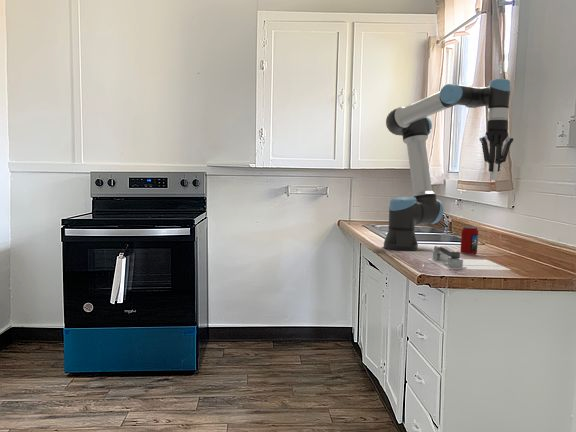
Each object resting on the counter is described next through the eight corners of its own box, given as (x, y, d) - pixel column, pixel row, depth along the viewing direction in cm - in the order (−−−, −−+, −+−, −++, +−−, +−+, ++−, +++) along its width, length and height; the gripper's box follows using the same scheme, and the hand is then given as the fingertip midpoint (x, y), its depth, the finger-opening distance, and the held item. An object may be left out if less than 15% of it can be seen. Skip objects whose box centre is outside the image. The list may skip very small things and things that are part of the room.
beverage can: (477, 256, 213) (478, 228, 211) (460, 255, 215) (462, 227, 214) (476, 253, 219) (478, 226, 218) (460, 252, 221) (461, 225, 220)
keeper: (432, 258, 197) (433, 245, 197) (445, 259, 197) (446, 246, 197) (435, 260, 194) (436, 247, 193) (448, 260, 194) (449, 247, 193)
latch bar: (461, 258, 180) (461, 251, 180) (452, 258, 180) (453, 251, 180) (446, 251, 196) (446, 245, 196) (438, 251, 196) (438, 244, 196)
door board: (426, 261, 198) (427, 258, 198) (486, 262, 199) (486, 259, 199) (445, 271, 178) (445, 268, 178) (511, 272, 179) (511, 269, 179)
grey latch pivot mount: (443, 264, 185) (444, 256, 185) (459, 265, 185) (460, 257, 185) (449, 268, 179) (450, 259, 179) (466, 268, 179) (466, 260, 179)
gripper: (509, 121, 201) (505, 180, 203) (477, 120, 200) (473, 179, 202) (518, 119, 193) (514, 180, 196) (485, 118, 193) (481, 180, 195)
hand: (493, 180), depth 199 cm, fingers closed
